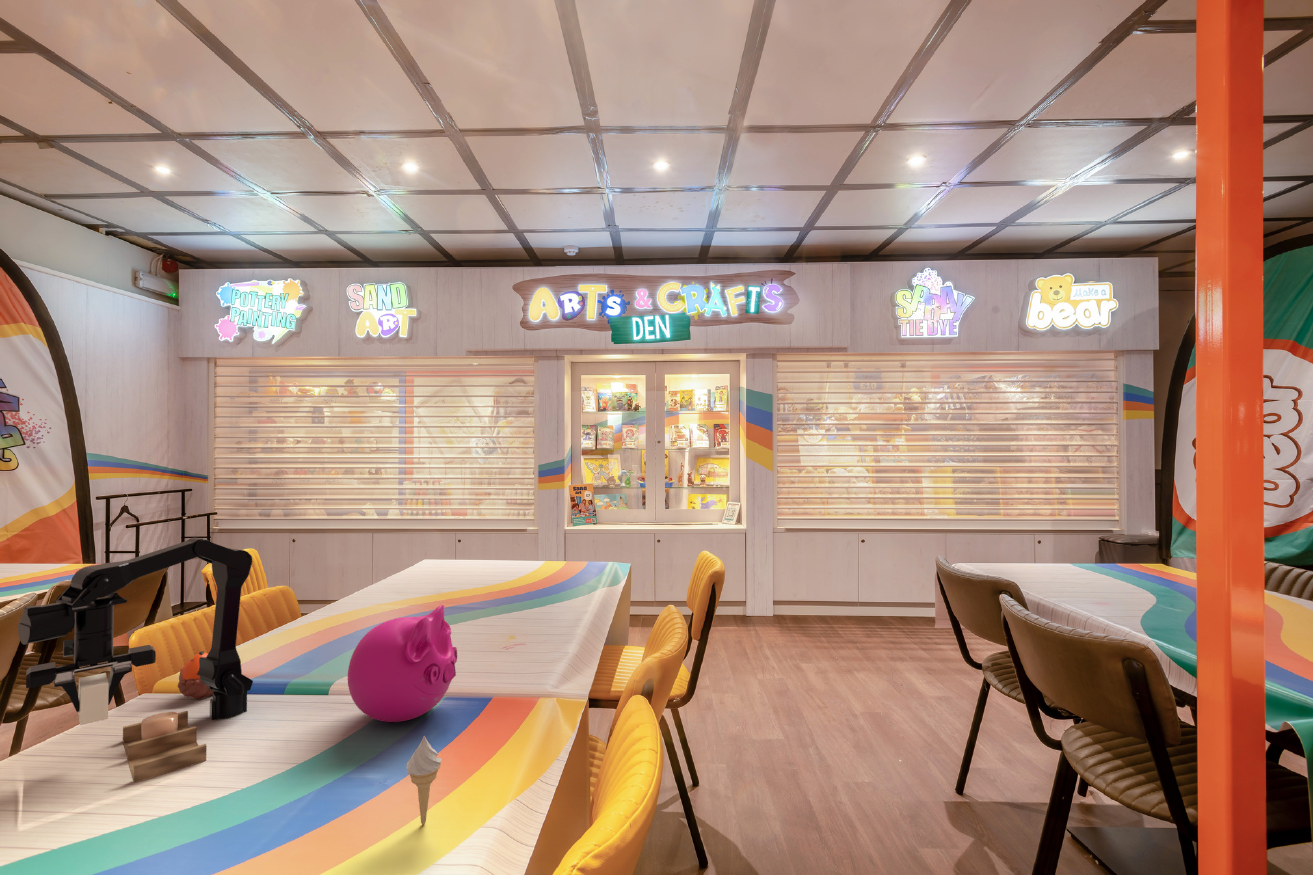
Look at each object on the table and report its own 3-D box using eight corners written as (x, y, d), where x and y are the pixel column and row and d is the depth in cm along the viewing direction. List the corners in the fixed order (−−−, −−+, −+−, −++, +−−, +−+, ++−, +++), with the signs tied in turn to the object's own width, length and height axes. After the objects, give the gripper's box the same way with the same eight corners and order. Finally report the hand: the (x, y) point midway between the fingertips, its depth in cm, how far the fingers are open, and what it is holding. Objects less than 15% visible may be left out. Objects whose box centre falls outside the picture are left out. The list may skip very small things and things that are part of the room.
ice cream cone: (412, 815, 103) (412, 728, 104) (445, 813, 104) (445, 726, 104) (401, 836, 98) (401, 744, 98) (436, 834, 98) (436, 742, 99)
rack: (187, 727, 136) (187, 710, 136) (206, 764, 120) (206, 745, 120) (122, 744, 128) (122, 726, 128) (134, 786, 112) (134, 766, 112)
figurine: (436, 740, 130) (436, 625, 130) (326, 740, 130) (327, 625, 131) (471, 696, 153) (471, 598, 153) (378, 695, 154) (379, 598, 154)
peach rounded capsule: (175, 731, 132) (175, 709, 133) (179, 740, 128) (179, 717, 128) (139, 741, 128) (139, 717, 128) (142, 751, 124) (143, 727, 124)
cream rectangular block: (105, 706, 124) (105, 672, 124) (108, 718, 118) (108, 683, 118) (78, 712, 121) (78, 678, 121) (80, 725, 116) (80, 689, 116)
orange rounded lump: (190, 689, 158) (190, 646, 158) (236, 684, 161) (237, 642, 161) (168, 708, 146) (169, 661, 146) (219, 702, 149) (219, 657, 150)
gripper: (149, 612, 132) (148, 683, 132) (27, 631, 119) (26, 710, 119) (156, 623, 125) (155, 698, 124) (26, 644, 111) (25, 728, 111)
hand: (93, 707), depth 120 cm, fingers closed on cream rectangular block, 4 cm apart
